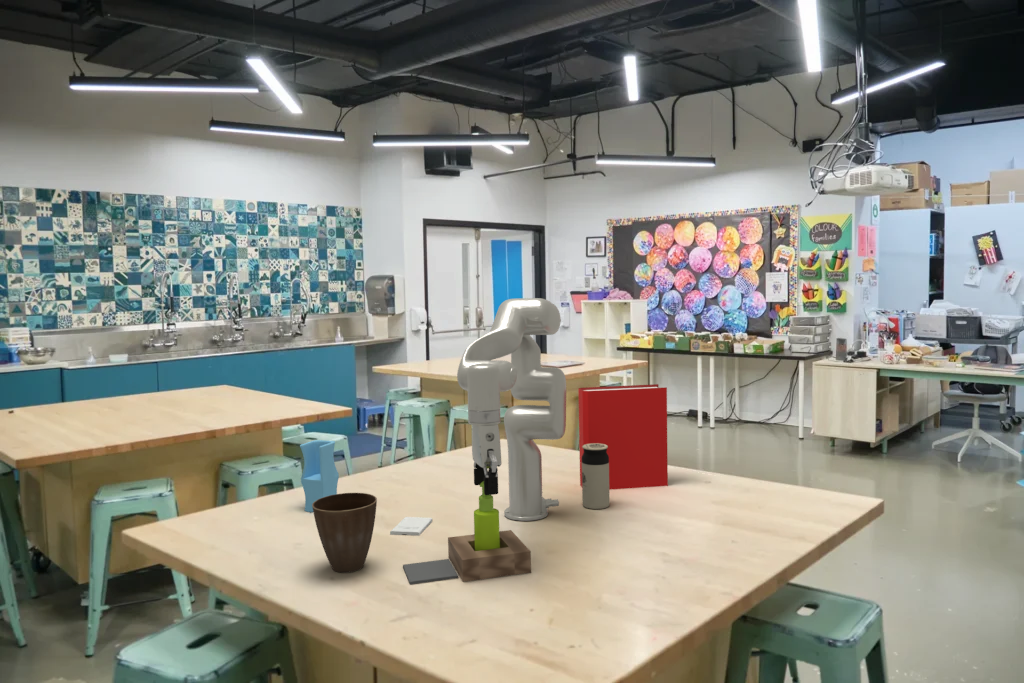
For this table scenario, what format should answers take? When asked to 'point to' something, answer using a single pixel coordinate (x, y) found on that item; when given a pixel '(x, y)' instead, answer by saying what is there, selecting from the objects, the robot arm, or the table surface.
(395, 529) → the external hard drive
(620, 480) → the book
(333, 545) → the plant pot
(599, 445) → the travel mug
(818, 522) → the table surface
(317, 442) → the light blue angular piece
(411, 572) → the rubber mat
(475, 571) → the socket block
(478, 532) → the soap dispenser
